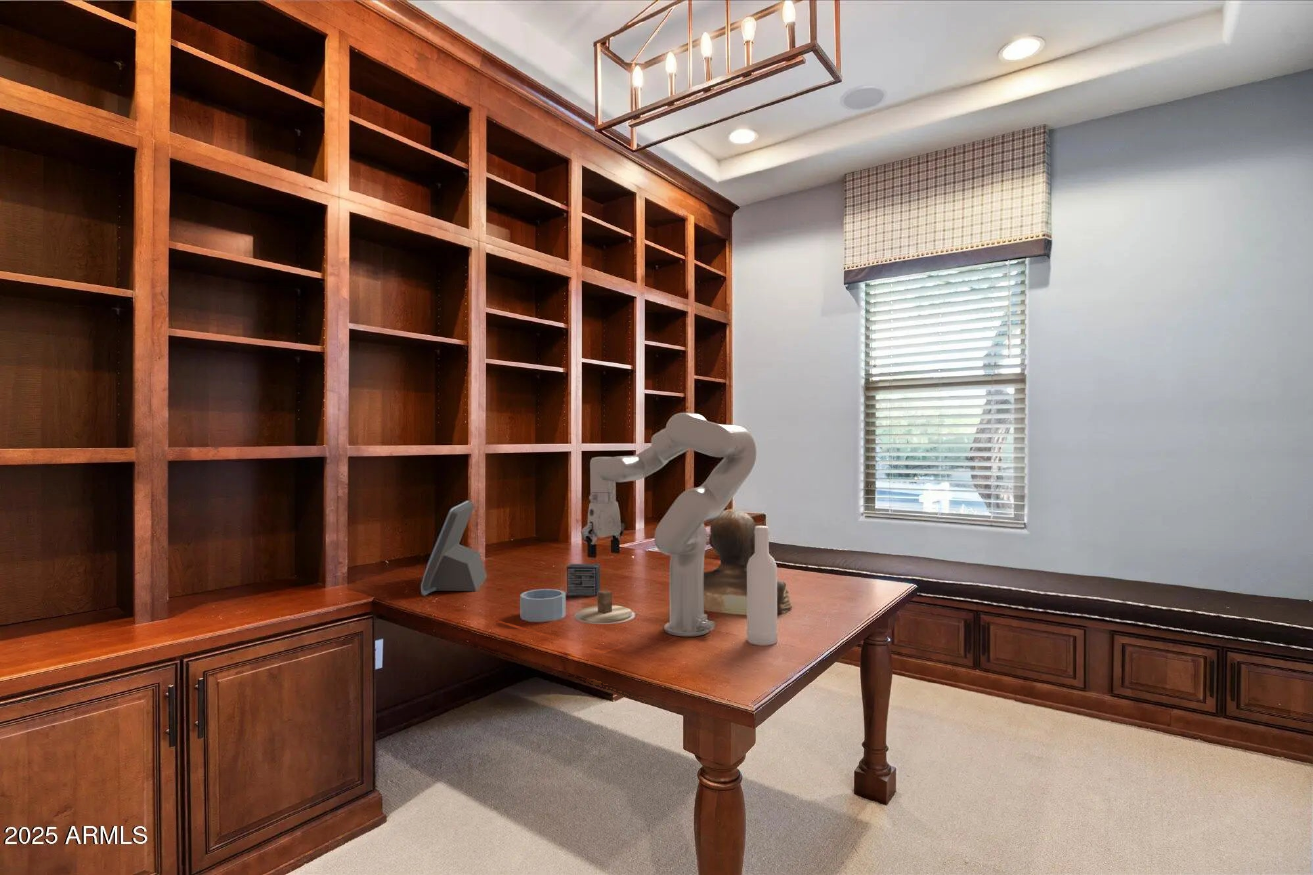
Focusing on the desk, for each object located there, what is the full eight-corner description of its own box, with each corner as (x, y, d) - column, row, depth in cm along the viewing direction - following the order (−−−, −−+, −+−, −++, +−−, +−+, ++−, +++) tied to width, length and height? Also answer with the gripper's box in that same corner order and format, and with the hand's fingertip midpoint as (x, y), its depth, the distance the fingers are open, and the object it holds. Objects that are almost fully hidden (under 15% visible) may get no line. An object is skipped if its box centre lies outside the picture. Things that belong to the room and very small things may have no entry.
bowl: (574, 616, 193) (574, 593, 193) (540, 626, 183) (539, 601, 183) (545, 609, 201) (545, 587, 201) (511, 618, 191) (511, 594, 191)
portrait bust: (779, 620, 189) (779, 515, 189) (672, 606, 205) (671, 509, 205) (798, 603, 208) (797, 508, 208) (698, 592, 223) (697, 503, 224)
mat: (647, 616, 193) (647, 614, 193) (605, 629, 179) (605, 627, 179) (604, 606, 205) (604, 604, 205) (561, 618, 191) (561, 616, 191)
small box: (600, 593, 222) (600, 563, 223) (597, 598, 216) (597, 566, 216) (570, 593, 223) (570, 562, 224) (566, 597, 217) (566, 566, 217)
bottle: (756, 634, 174) (756, 523, 175) (782, 640, 169) (782, 526, 170) (741, 641, 168) (740, 526, 168) (767, 647, 163) (767, 529, 163)
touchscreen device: (438, 575, 254) (441, 499, 254) (489, 575, 256) (491, 500, 256) (415, 596, 219) (418, 508, 219) (474, 596, 221) (477, 509, 222)
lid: (642, 614, 193) (642, 590, 193) (605, 626, 181) (604, 601, 181) (604, 605, 203) (604, 583, 203) (566, 616, 191) (566, 592, 191)
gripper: (590, 500, 184) (591, 560, 184) (632, 496, 197) (632, 552, 197) (573, 499, 189) (573, 557, 189) (614, 495, 202) (615, 550, 202)
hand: (603, 555), depth 193 cm, fingers open, 9 cm apart
